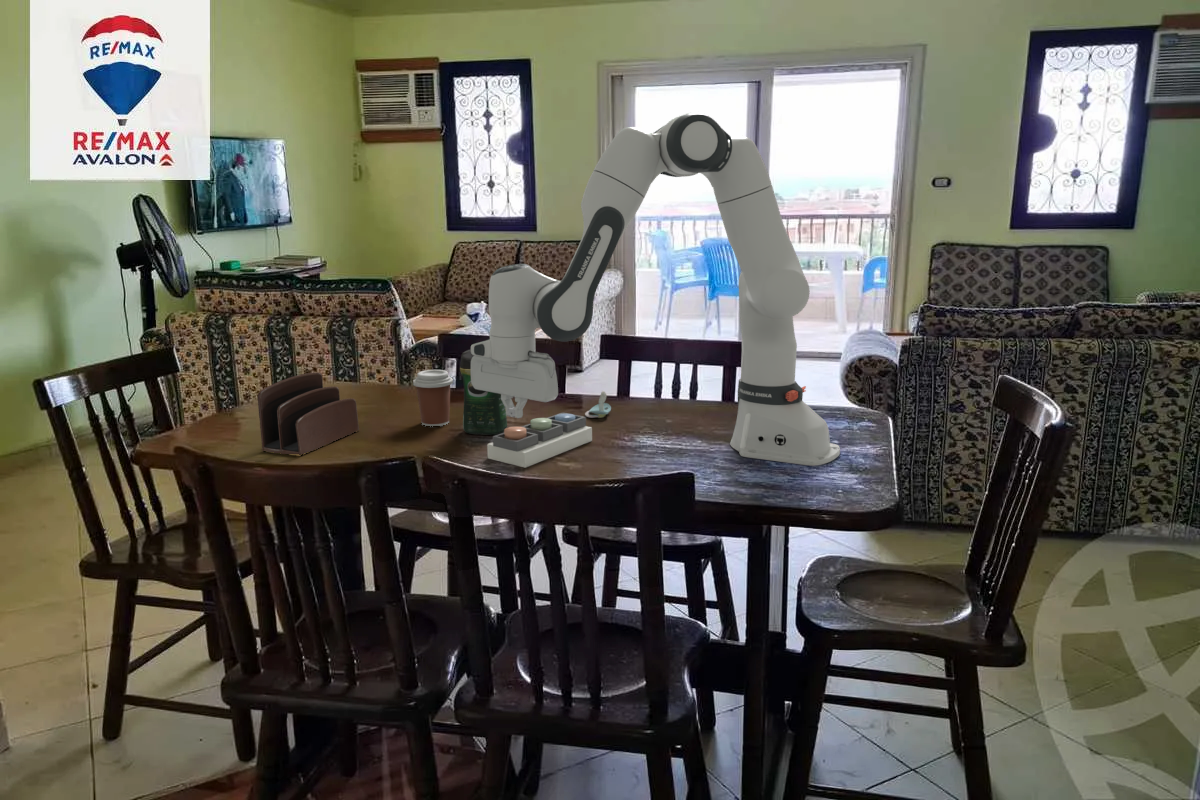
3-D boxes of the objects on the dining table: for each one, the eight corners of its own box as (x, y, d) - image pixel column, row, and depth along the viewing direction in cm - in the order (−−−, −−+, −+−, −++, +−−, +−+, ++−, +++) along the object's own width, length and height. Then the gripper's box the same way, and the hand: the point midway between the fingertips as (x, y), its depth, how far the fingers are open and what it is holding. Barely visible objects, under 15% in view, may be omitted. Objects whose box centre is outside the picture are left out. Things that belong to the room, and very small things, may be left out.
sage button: (556, 427, 175) (555, 420, 175) (542, 432, 172) (542, 424, 171) (539, 424, 178) (539, 416, 177) (526, 428, 174) (526, 421, 174)
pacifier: (582, 419, 199) (606, 420, 198) (580, 394, 197) (606, 394, 196) (588, 411, 206) (612, 412, 205) (587, 387, 204) (611, 387, 203)
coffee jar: (511, 427, 192) (508, 347, 187) (500, 437, 184) (497, 354, 180) (470, 425, 194) (467, 345, 189) (458, 434, 186) (454, 352, 182)
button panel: (592, 440, 182) (592, 418, 180) (524, 467, 164) (523, 443, 163) (556, 432, 187) (556, 411, 186) (487, 458, 170) (486, 434, 169)
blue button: (579, 422, 182) (579, 415, 181) (566, 427, 178) (566, 420, 178) (563, 419, 184) (563, 412, 184) (550, 424, 181) (550, 416, 180)
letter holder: (261, 452, 175) (254, 386, 171) (323, 427, 193) (318, 367, 189) (300, 458, 171) (294, 390, 168) (360, 432, 189) (355, 370, 186)
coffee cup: (412, 428, 191) (408, 377, 188) (419, 418, 200) (416, 368, 197) (452, 428, 191) (449, 376, 188) (457, 417, 200) (455, 368, 197)
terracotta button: (531, 436, 169) (530, 428, 168) (516, 441, 165) (516, 433, 165) (514, 432, 171) (514, 425, 171) (499, 437, 168) (499, 430, 168)
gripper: (564, 352, 160) (565, 421, 164) (486, 340, 172) (488, 405, 176) (543, 357, 156) (544, 429, 159) (464, 345, 167) (467, 412, 171)
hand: (514, 416), depth 167 cm, fingers closed
